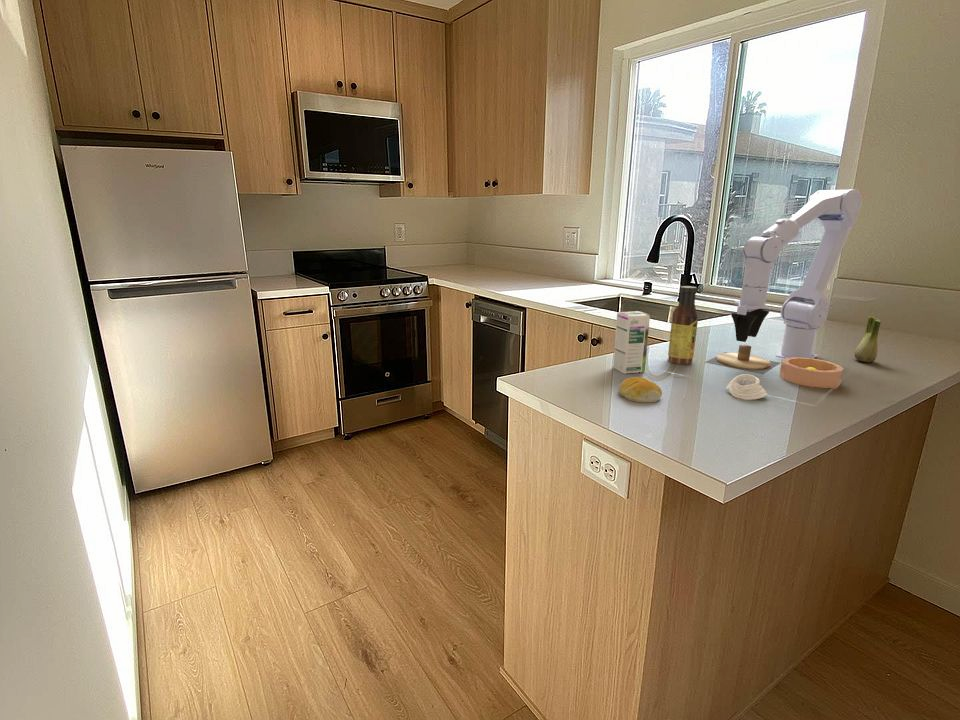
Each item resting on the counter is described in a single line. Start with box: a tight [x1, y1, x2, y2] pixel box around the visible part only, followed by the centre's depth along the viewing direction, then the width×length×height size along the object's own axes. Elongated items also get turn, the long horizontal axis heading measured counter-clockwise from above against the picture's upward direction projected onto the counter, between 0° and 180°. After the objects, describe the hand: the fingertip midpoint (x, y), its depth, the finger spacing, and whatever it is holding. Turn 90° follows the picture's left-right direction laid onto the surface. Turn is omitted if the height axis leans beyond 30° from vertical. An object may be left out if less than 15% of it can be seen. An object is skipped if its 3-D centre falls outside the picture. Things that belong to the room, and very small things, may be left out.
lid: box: [717, 344, 771, 369], centre depth 136 cm, size 13×13×4 cm
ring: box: [779, 357, 844, 390], centre depth 123 cm, size 12×12×4 cm
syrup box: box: [612, 310, 651, 375], centre depth 128 cm, size 6×6×14 cm
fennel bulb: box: [853, 316, 882, 363], centre depth 139 cm, size 6×5×12 cm
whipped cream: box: [725, 373, 768, 401], centre depth 113 cm, size 8×7×5 cm
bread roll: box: [618, 376, 663, 404], centre depth 112 cm, size 8×9×4 cm
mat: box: [705, 352, 781, 375], centre depth 137 cm, size 14×14×1 cm
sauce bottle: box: [667, 285, 699, 366], centre depth 134 cm, size 6×6×20 cm
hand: (746, 338), depth 135 cm, fingers open, 7 cm apart
